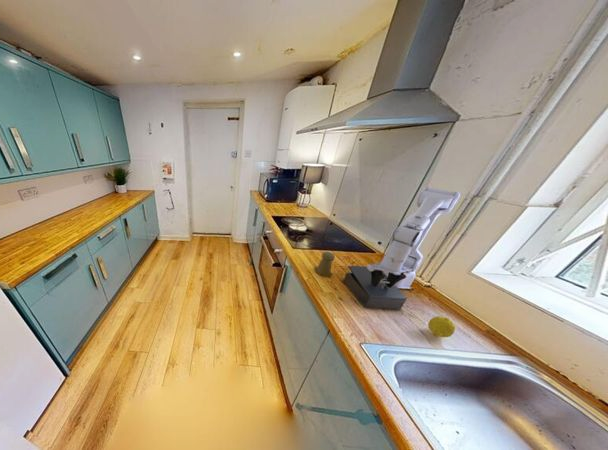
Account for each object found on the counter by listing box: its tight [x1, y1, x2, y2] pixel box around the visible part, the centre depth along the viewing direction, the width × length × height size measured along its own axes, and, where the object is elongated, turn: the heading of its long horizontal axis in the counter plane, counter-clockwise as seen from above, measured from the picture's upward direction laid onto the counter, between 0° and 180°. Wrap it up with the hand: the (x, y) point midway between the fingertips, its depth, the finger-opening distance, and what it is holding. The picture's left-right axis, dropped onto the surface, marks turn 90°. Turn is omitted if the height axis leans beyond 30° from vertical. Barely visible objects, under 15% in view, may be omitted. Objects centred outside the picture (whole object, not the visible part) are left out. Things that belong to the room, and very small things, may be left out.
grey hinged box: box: [342, 272, 407, 311], centre depth 83 cm, size 15×13×5 cm
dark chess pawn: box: [315, 251, 336, 277], centre depth 95 cm, size 6×6×11 cm
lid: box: [347, 265, 408, 301], centre depth 81 cm, size 16×13×4 cm
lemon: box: [427, 315, 456, 338], centre depth 66 cm, size 6×6×8 cm
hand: (380, 285), depth 79 cm, fingers closed on lid, 5 cm apart
